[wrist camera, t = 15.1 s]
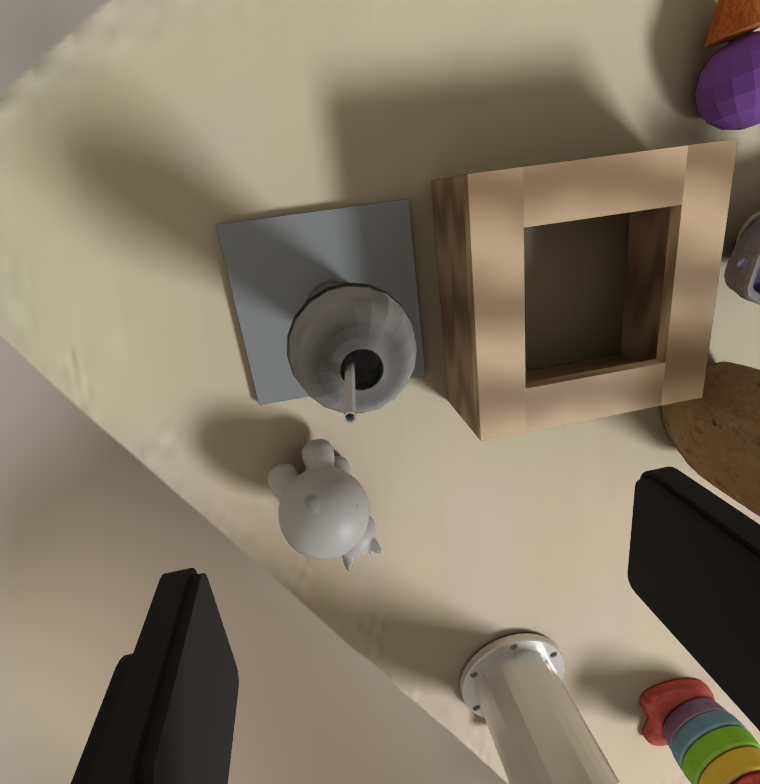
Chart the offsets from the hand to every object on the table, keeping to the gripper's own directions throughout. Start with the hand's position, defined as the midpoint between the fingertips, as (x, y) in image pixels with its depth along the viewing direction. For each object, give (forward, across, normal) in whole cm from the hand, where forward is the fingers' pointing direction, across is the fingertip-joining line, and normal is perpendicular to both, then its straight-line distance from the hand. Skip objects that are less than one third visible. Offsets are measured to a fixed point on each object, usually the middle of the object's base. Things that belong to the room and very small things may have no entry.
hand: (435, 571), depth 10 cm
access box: (+30, -18, +1) cm, 35 cm away
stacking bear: (+31, -37, +60) cm, 77 cm away
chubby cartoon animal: (+30, +3, +16) cm, 35 cm away
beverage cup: (+30, 0, 0) cm, 30 cm away
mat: (+30, 0, 0) cm, 30 cm away
